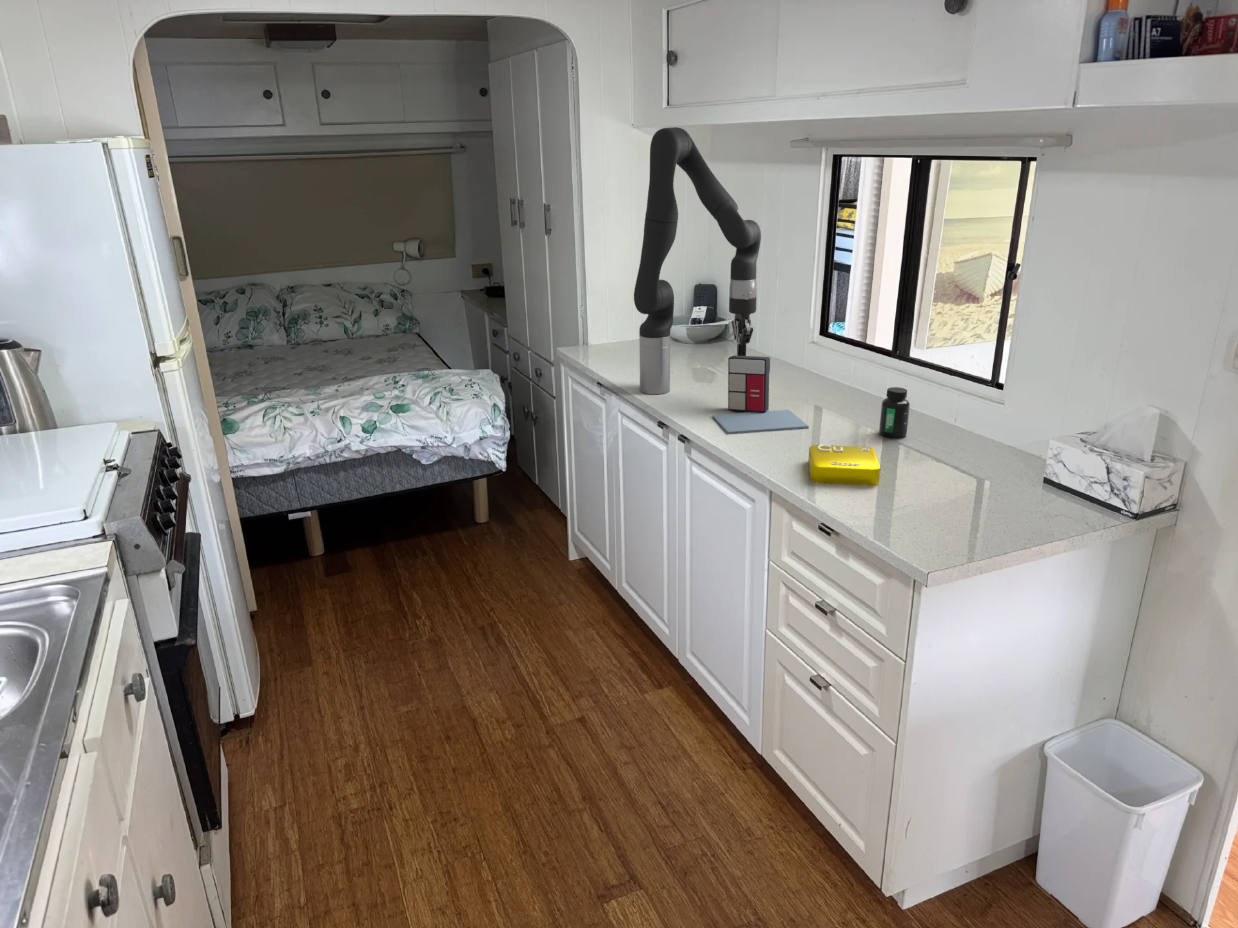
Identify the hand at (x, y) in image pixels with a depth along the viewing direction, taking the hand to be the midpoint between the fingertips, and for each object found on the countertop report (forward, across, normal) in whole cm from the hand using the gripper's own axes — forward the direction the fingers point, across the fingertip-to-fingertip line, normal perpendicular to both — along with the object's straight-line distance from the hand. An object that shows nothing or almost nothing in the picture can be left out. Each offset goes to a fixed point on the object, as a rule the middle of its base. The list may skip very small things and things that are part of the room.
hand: (741, 356), depth 243 cm
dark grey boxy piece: (+14, +8, 0) cm, 16 cm away
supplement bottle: (+15, +35, +30) cm, 48 cm away
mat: (+14, +18, 0) cm, 23 cm away
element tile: (+15, +57, +7) cm, 59 cm away
